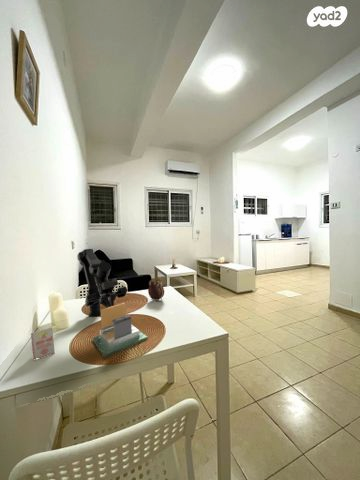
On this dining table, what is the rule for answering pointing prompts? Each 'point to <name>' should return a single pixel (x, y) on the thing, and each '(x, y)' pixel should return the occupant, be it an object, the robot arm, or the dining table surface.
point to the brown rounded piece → (156, 289)
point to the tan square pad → (112, 315)
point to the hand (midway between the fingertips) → (112, 311)
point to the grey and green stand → (118, 336)
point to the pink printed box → (42, 343)
